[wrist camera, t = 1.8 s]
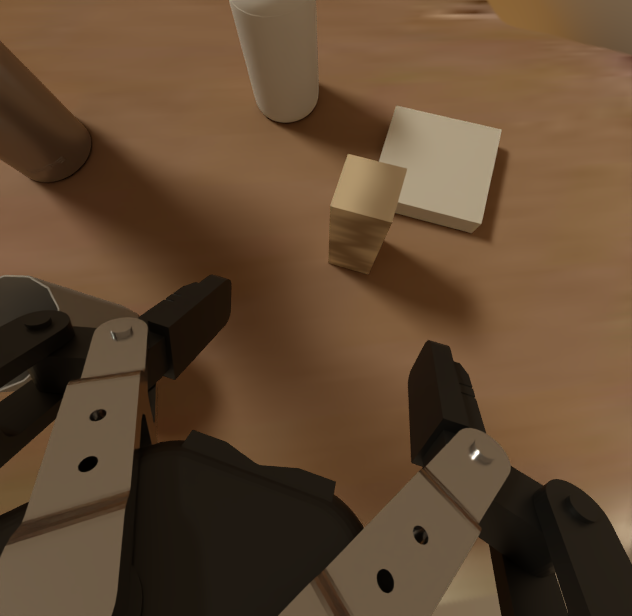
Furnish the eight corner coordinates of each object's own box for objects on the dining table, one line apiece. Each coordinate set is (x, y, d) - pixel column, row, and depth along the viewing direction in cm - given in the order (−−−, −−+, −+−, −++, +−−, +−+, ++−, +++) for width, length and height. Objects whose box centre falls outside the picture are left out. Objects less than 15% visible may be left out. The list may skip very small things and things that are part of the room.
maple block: (328, 262, 31) (330, 206, 20) (340, 226, 32) (348, 153, 21) (368, 274, 31) (391, 222, 20) (379, 237, 31) (407, 168, 21)
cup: (162, 328, 30) (83, 308, 20) (115, 400, 29) (6, 415, 19) (99, 292, 31) (-4, 256, 21) (51, 359, 30) (-83, 354, 20)
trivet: (365, 205, 32) (368, 194, 30) (392, 120, 35) (396, 105, 33) (471, 233, 31) (481, 224, 29) (491, 143, 34) (501, 129, 32)
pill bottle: (281, 64, 37) (253, -136, 22) (331, 92, 36) (336, -100, 21) (243, 105, 36) (186, -78, 21) (293, 136, 35) (271, -36, 20)
